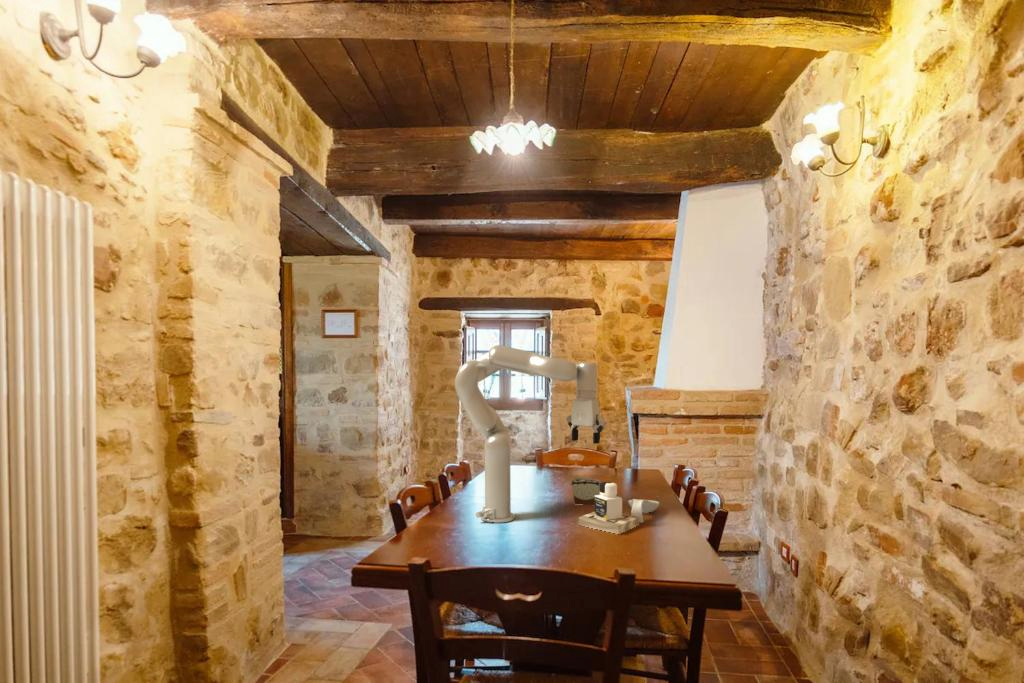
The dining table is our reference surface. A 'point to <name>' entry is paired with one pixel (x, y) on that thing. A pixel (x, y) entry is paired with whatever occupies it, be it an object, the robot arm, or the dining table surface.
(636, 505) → the spoon rest
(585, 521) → the birch plinth
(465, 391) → the robot arm
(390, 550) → the dining table surface
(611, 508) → the medicine bottle
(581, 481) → the food container
